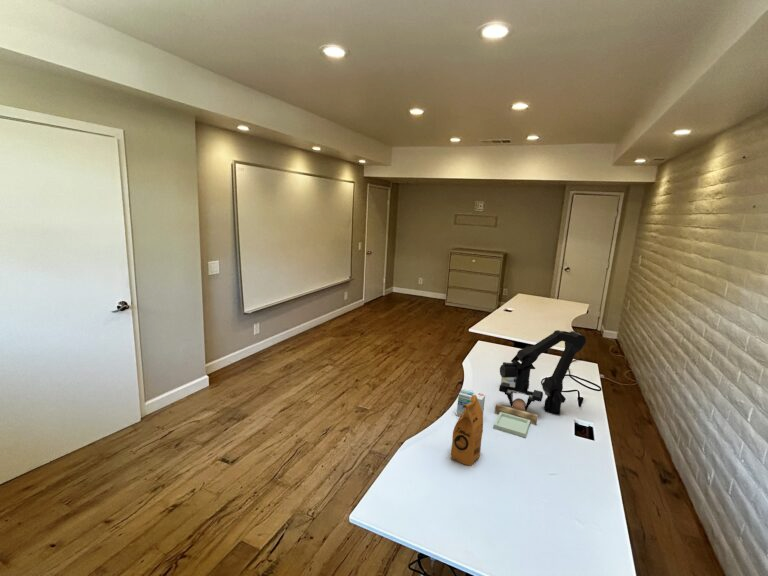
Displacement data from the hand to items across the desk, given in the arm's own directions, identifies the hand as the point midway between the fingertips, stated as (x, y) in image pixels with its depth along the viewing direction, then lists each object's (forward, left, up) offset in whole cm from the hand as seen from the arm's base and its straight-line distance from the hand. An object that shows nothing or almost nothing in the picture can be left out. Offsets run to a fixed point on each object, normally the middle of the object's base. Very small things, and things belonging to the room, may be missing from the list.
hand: (518, 408), depth 178 cm
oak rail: (0, +8, -1) cm, 8 cm away
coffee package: (+11, +48, -2) cm, 49 cm away
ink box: (+8, -24, -2) cm, 25 cm away
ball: (0, 0, -1) cm, 1 cm away
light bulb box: (+18, +18, -2) cm, 26 cm away
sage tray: (0, +16, -1) cm, 16 cm away
